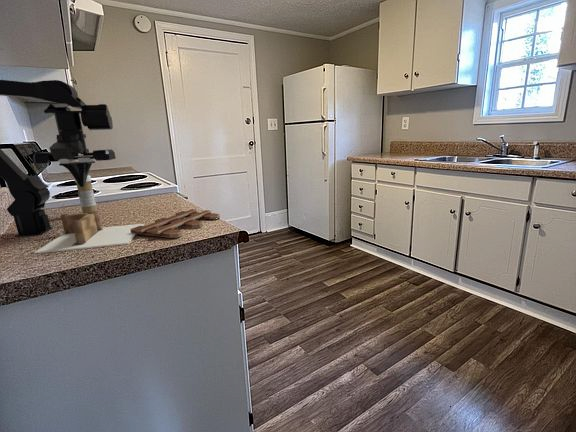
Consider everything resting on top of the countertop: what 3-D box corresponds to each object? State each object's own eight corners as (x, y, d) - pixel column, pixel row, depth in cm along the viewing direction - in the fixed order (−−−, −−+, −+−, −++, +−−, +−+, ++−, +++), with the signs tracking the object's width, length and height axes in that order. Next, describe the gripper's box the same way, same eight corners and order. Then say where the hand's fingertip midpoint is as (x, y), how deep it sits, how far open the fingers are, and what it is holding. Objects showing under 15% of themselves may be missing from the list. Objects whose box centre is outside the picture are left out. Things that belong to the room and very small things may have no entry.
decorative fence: (127, 234, 81) (173, 239, 76) (126, 228, 81) (172, 233, 75) (184, 213, 102) (223, 216, 97) (184, 208, 101) (223, 211, 96)
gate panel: (90, 231, 84) (86, 211, 83) (98, 230, 85) (94, 211, 83) (75, 244, 74) (70, 222, 73) (84, 243, 75) (79, 221, 73)
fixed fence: (63, 234, 84) (58, 216, 82) (67, 231, 86) (62, 213, 85) (99, 231, 85) (95, 212, 84) (102, 228, 88) (99, 210, 86)
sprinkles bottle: (85, 214, 108) (76, 175, 104) (99, 212, 109) (91, 174, 106) (81, 217, 103) (72, 177, 100) (96, 215, 105) (88, 176, 101)
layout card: (34, 253, 71) (34, 251, 71) (69, 231, 87) (68, 230, 87) (127, 244, 75) (127, 242, 75) (144, 224, 91) (144, 223, 91)
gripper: (13, 131, 76) (29, 194, 80) (95, 129, 79) (107, 189, 83) (39, 132, 86) (52, 187, 90) (111, 129, 89) (120, 183, 94)
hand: (82, 186), depth 89 cm, fingers closed
